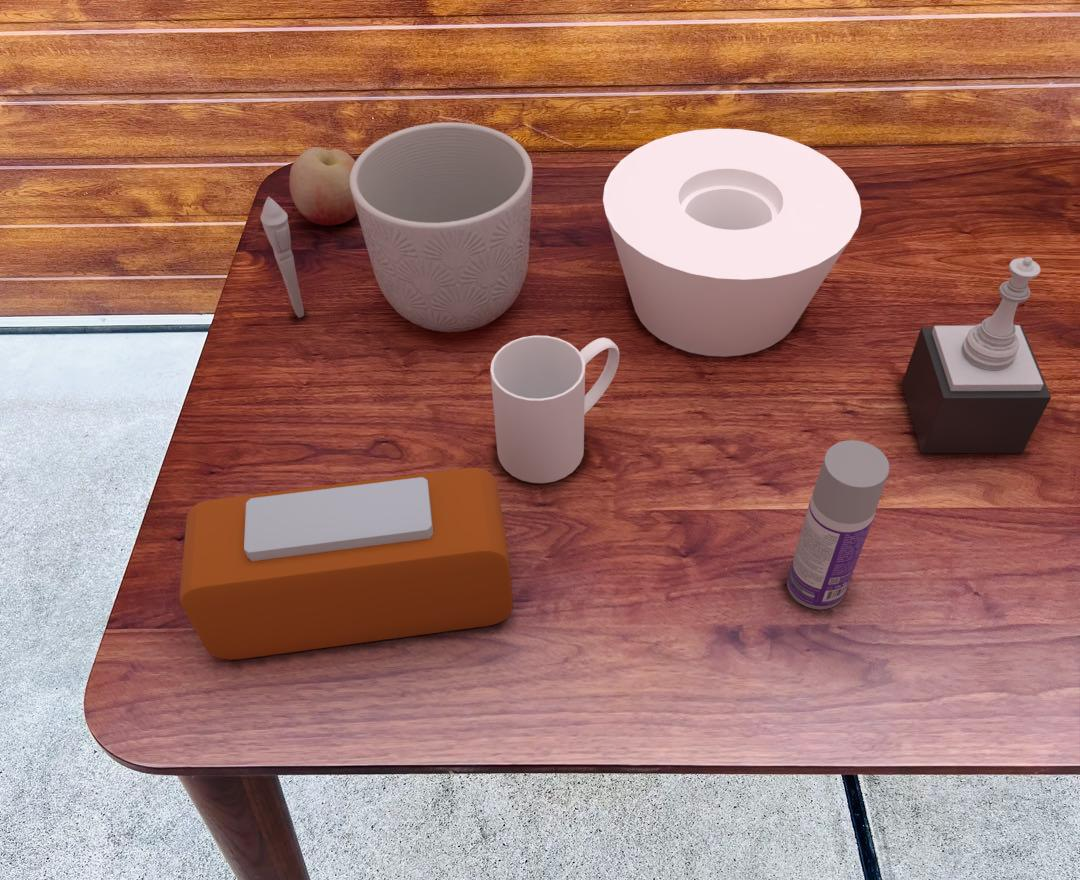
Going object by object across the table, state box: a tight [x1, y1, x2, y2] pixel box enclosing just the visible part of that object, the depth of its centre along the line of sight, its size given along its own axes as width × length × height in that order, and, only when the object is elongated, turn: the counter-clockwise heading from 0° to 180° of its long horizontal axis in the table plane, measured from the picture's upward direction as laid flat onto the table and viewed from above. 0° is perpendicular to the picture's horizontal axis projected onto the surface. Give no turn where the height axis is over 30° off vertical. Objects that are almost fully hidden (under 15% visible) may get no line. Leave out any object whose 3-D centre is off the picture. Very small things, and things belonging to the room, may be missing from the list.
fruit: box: [288, 146, 357, 226], centre depth 111 cm, size 8×8×8 cm
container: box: [786, 439, 890, 610], centre depth 76 cm, size 5×5×15 cm
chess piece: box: [962, 256, 1041, 370], centre depth 83 cm, size 4×4×10 cm
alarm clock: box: [179, 467, 514, 660], centre depth 78 cm, size 24×8×11 cm, turn 98°
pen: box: [259, 196, 305, 319], centre depth 99 cm, size 2×3×14 cm
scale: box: [901, 324, 1052, 454], centre depth 90 cm, size 9×9×8 cm
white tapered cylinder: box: [602, 128, 862, 358], centre depth 99 cm, size 24×24×12 cm
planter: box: [349, 121, 534, 333], centre depth 99 cm, size 17×17×15 cm
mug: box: [489, 335, 621, 484], centre depth 88 cm, size 12×8×10 cm, turn 124°
